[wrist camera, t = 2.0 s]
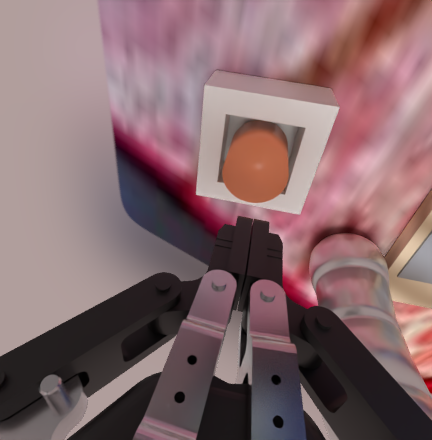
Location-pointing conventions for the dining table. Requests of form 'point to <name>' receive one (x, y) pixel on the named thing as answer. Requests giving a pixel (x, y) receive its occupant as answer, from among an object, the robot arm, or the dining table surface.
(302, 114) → the button housing
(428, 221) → the board
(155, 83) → the dining table surface
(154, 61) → the dining table surface
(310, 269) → the plastic bottle
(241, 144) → the button cap
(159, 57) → the dining table surface
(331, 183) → the dining table surface
